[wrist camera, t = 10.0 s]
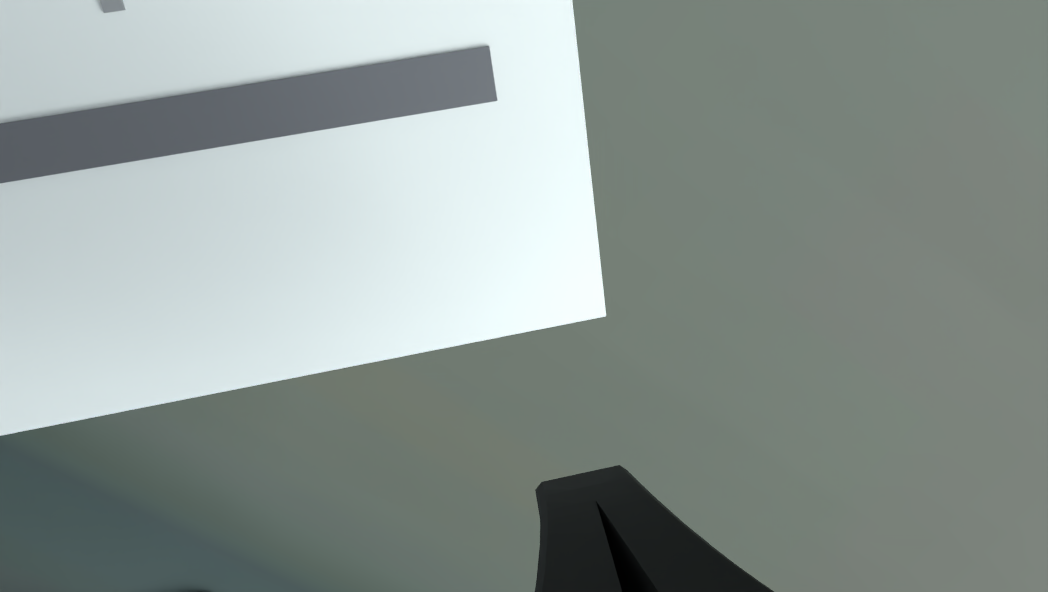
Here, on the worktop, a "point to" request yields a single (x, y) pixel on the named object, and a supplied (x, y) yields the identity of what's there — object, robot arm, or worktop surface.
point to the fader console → (279, 191)
